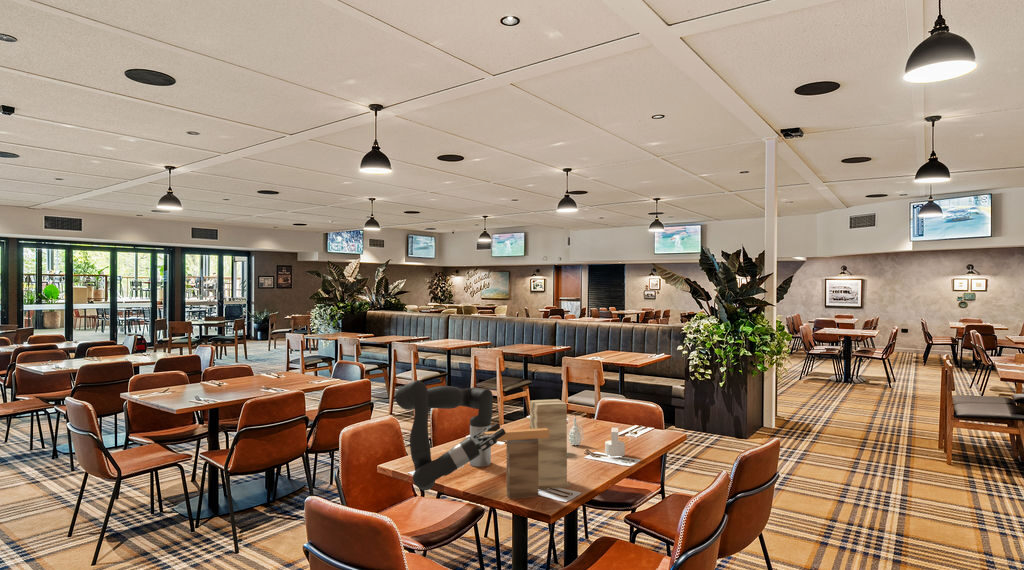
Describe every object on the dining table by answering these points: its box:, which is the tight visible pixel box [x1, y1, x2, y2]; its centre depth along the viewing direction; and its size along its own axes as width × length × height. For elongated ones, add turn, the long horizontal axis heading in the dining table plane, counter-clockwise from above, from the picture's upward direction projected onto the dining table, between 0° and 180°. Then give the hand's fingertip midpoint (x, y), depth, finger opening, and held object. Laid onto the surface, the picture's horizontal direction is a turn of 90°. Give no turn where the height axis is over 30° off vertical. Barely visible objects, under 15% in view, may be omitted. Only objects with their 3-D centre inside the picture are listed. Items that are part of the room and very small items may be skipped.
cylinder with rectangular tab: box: [604, 427, 626, 456], centre depth 258 cm, size 9×9×12 cm
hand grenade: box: [568, 416, 585, 446], centre depth 276 cm, size 8×6×14 cm
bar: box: [484, 428, 549, 442], centre depth 206 cm, size 3×24×3 cm, turn 104°
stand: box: [529, 398, 571, 490], centre depth 220 cm, size 12×14×32 cm
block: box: [506, 439, 539, 500], centre depth 206 cm, size 4×11×21 cm, turn 104°
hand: (501, 427), depth 204 cm, fingers open, 8 cm apart
